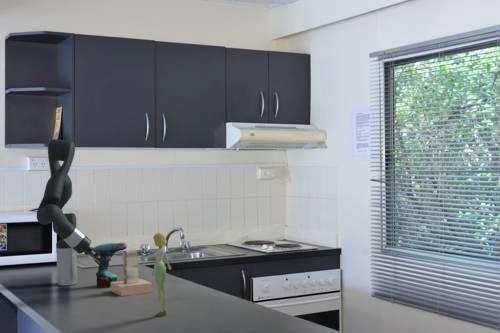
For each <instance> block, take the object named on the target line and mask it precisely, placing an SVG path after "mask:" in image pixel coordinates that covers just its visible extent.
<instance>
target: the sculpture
mask: <svg viewBox="0 0 500 333" xmlns="http://www.w3.org/2000/svg"><path fill="white" fill-rule="evenodd" d="M153 241H154V246H156V247H159V248H158V249H157V250H156V251H155V252H154V253H153V256H154V258H155V260H154V264H153V269H152V270H151V271H150V272H151V276H154V277H155V284H156V289H157V294H158V304H159V307H160V311H159V312H158V313H156V314H154V316H155V317H164V316H167V312H166V311H167V310H166V306H167V292H166V291H165V282H166V279H167V278H166V277H167V269H168V270H170V271H171V270H172V265H171V264H170V263H169V258H168V256H167V253H166V250H165V247H164V246H166V244H168V243H167V242H168V240H167V239H166V236H165V235H164V233H161V232H158V233H156V234H155V233H154V236H153ZM163 260H165V262H166V264H167V266H166V264H164V262H163Z"/></svg>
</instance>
